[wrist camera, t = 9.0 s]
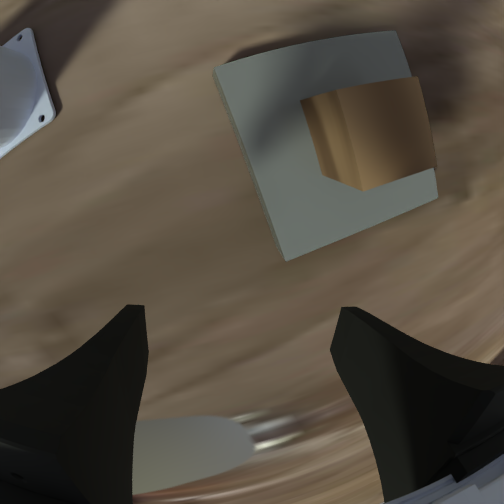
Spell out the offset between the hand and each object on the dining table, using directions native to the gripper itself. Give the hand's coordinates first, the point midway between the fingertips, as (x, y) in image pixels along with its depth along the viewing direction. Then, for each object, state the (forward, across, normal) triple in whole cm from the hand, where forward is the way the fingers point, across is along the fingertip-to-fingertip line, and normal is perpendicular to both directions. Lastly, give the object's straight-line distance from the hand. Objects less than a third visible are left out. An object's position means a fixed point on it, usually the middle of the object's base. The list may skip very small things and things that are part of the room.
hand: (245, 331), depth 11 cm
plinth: (+10, -6, -8) cm, 14 cm away
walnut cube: (+8, -6, -8) cm, 13 cm away
